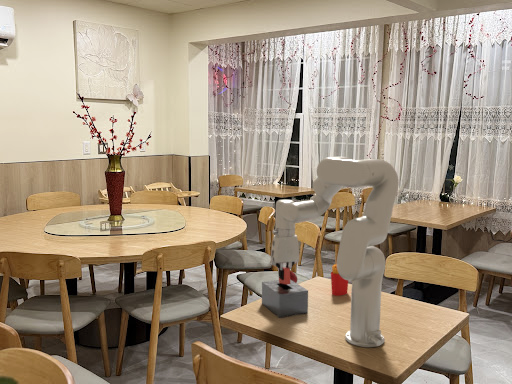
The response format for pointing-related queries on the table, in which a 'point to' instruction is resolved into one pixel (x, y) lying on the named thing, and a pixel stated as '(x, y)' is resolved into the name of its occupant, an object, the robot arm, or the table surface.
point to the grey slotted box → (284, 298)
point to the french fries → (338, 282)
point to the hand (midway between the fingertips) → (284, 278)
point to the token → (285, 276)
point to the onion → (293, 277)
